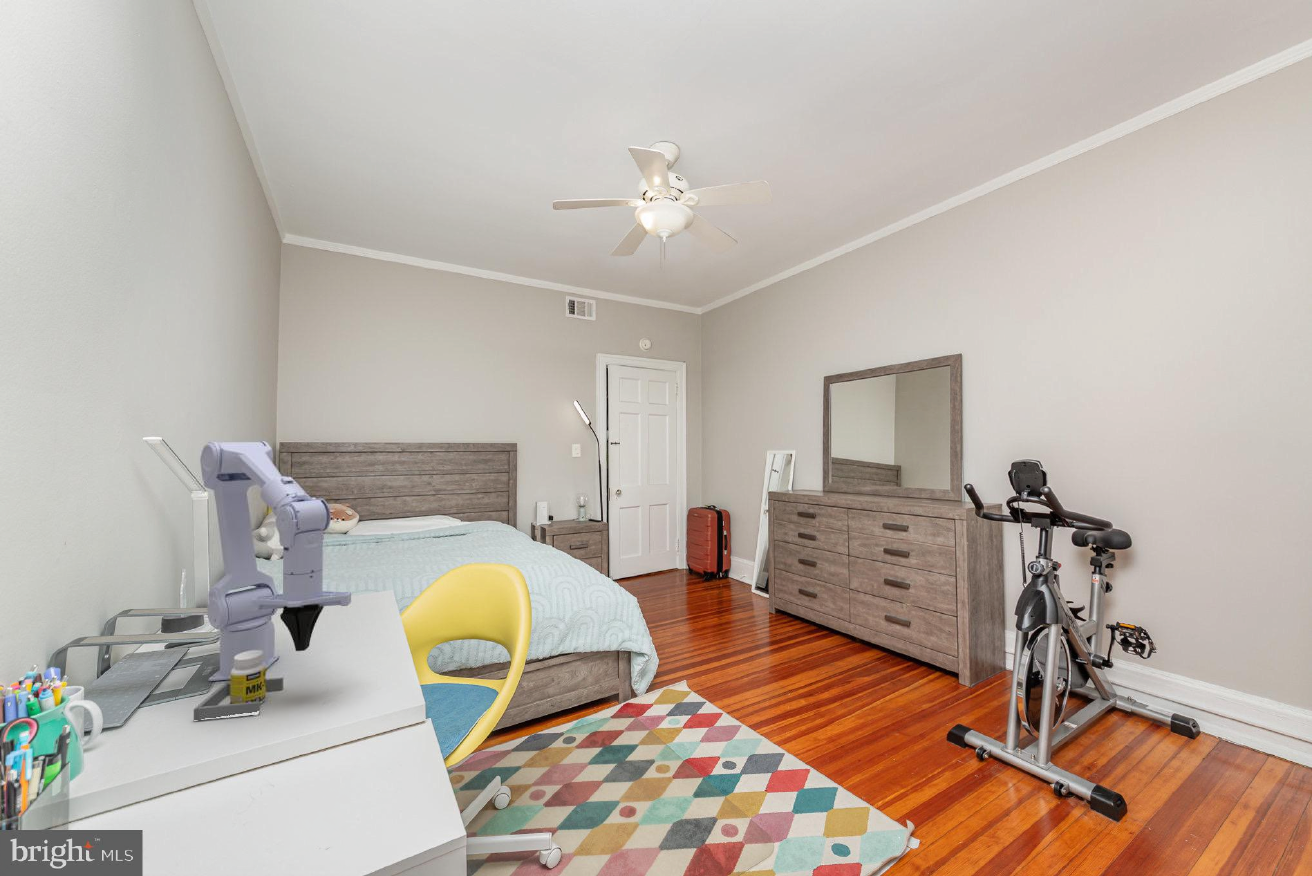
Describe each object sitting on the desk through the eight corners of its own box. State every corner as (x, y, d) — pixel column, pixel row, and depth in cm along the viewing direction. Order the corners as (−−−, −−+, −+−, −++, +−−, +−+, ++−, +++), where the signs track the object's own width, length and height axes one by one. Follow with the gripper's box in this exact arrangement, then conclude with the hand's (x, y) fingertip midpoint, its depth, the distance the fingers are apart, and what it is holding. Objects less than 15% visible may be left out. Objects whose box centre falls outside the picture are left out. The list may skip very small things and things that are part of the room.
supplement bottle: (246, 712, 87) (246, 662, 87) (222, 709, 88) (222, 659, 88) (272, 698, 92) (273, 650, 92) (249, 695, 93) (250, 647, 92)
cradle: (225, 693, 93) (225, 682, 93) (283, 688, 95) (283, 677, 95) (193, 721, 84) (193, 709, 84) (258, 715, 86) (258, 703, 86)
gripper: (242, 578, 86) (241, 662, 86) (342, 574, 89) (341, 654, 90) (263, 567, 93) (262, 644, 93) (355, 564, 96) (354, 638, 96)
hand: (302, 648), depth 92 cm, fingers closed
